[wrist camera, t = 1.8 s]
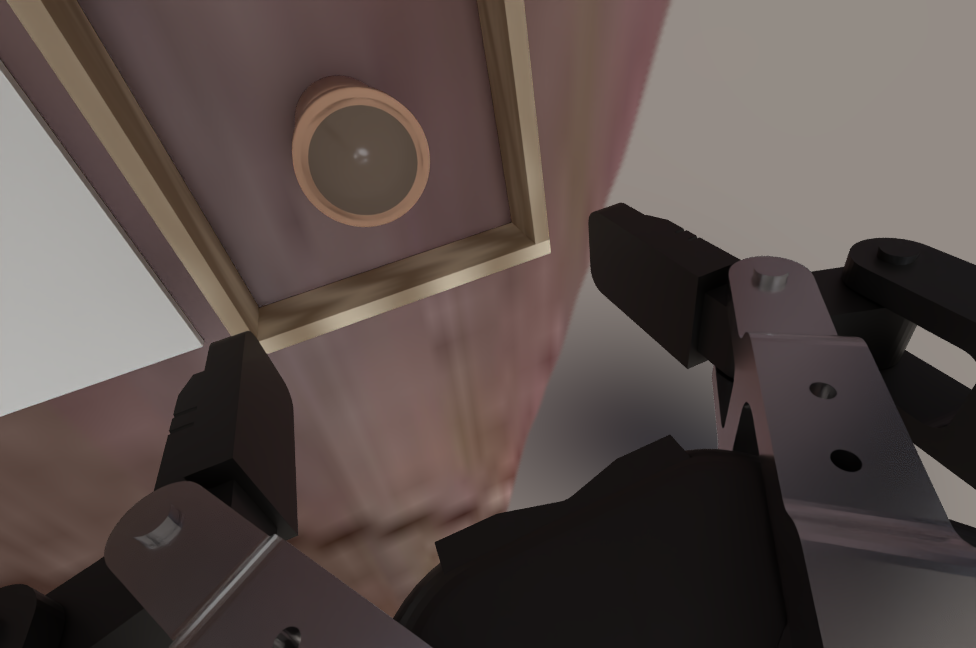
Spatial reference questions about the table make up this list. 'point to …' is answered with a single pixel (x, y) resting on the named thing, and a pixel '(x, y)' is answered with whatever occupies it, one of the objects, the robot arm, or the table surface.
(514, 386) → the table surface
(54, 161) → the grey mat
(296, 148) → the terracotta pot
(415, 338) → the table surface
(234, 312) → the frame
